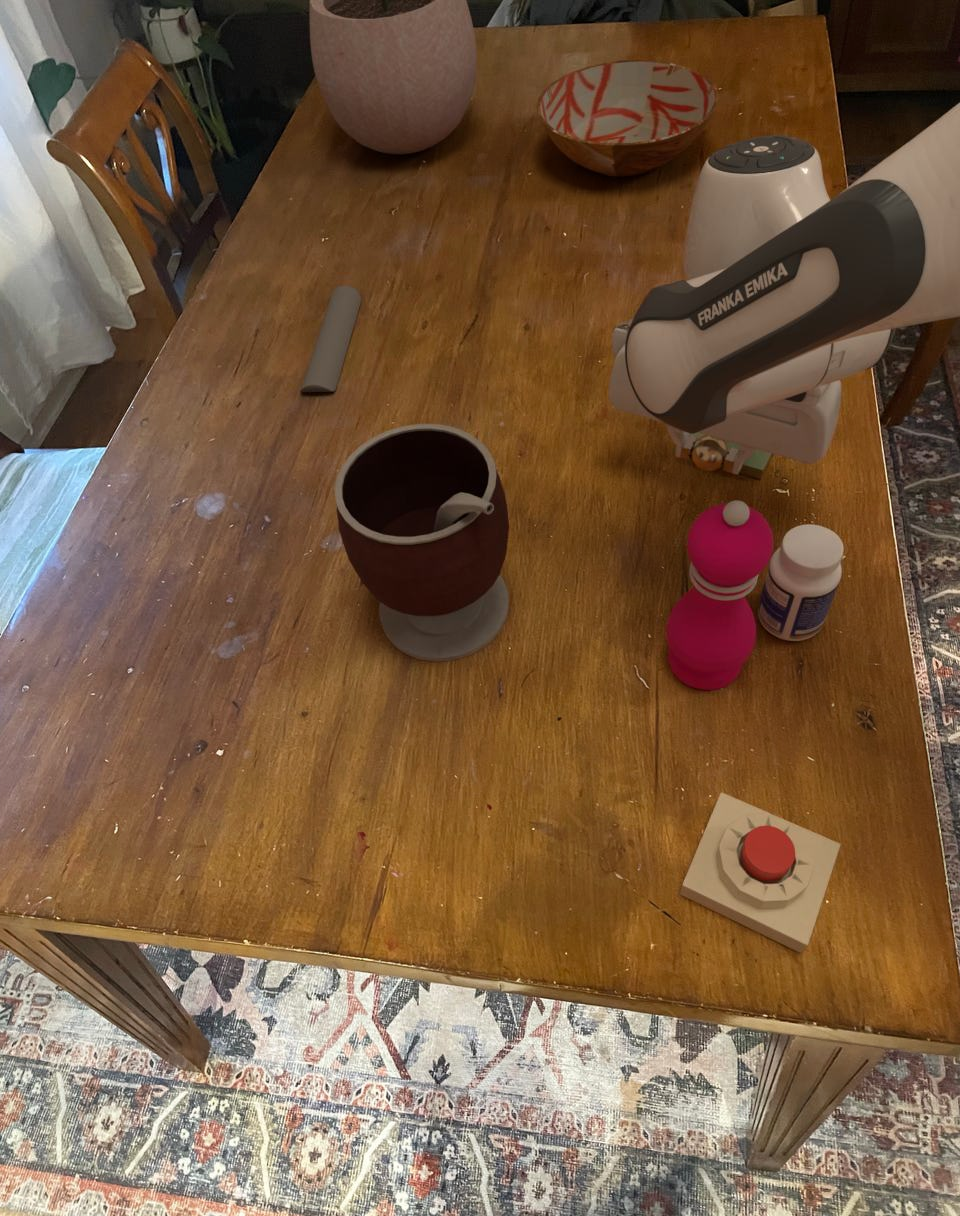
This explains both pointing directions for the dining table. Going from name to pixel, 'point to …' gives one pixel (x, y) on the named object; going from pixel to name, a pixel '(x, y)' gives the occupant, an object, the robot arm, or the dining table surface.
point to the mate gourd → (428, 537)
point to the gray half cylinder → (332, 341)
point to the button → (767, 853)
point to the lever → (709, 453)
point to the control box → (751, 901)
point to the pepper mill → (718, 596)
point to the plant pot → (394, 68)
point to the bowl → (627, 114)
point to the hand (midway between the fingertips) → (708, 461)
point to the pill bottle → (801, 582)
